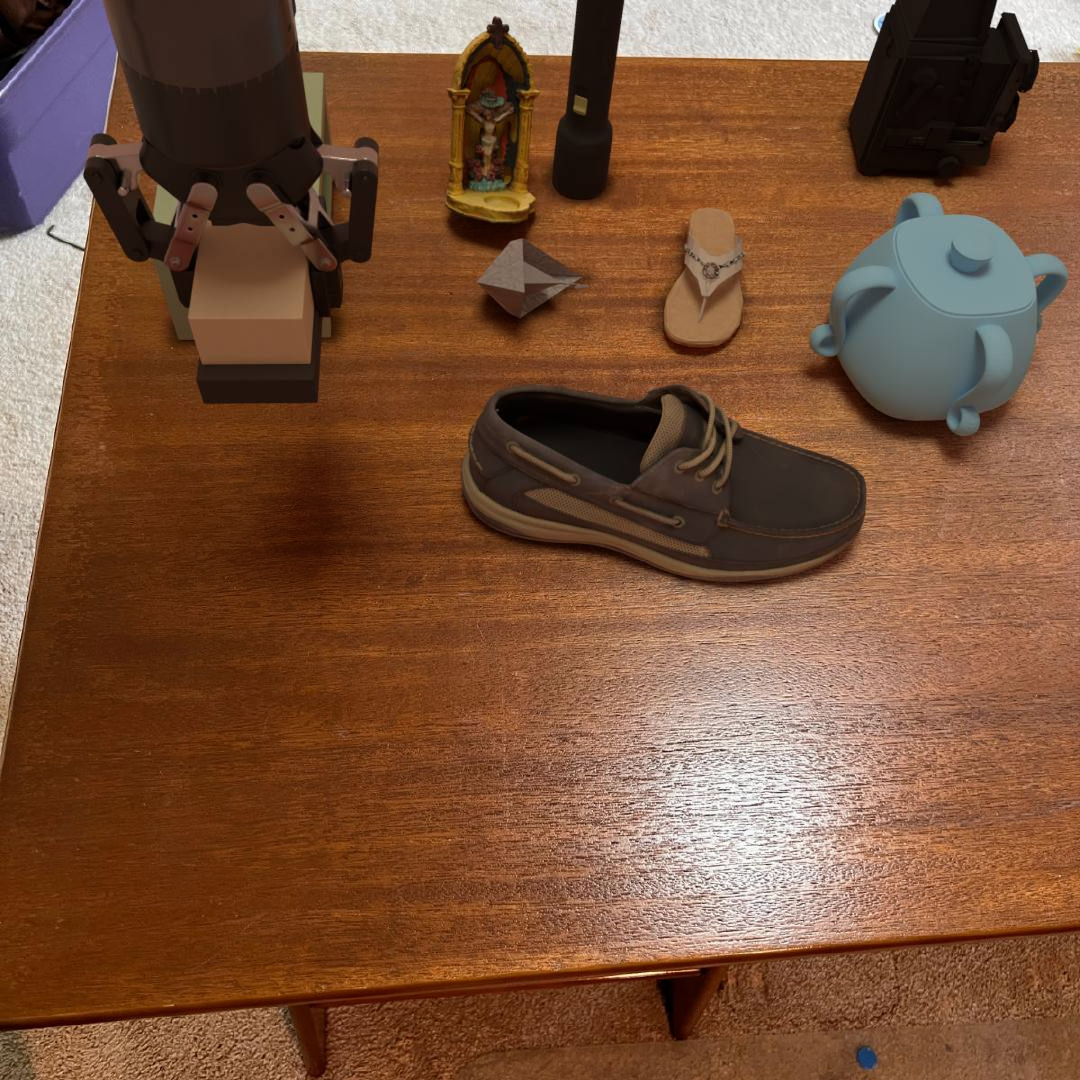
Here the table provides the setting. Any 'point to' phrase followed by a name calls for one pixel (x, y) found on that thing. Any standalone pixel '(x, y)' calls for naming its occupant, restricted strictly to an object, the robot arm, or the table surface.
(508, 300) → the paper boat
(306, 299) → the board eraser
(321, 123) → the olive green lidded box
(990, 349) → the decorative pot
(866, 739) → the table surface
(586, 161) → the flashlight
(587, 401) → the boat shoe
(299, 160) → the robot arm
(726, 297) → the sandal
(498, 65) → the shrine
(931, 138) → the camera
